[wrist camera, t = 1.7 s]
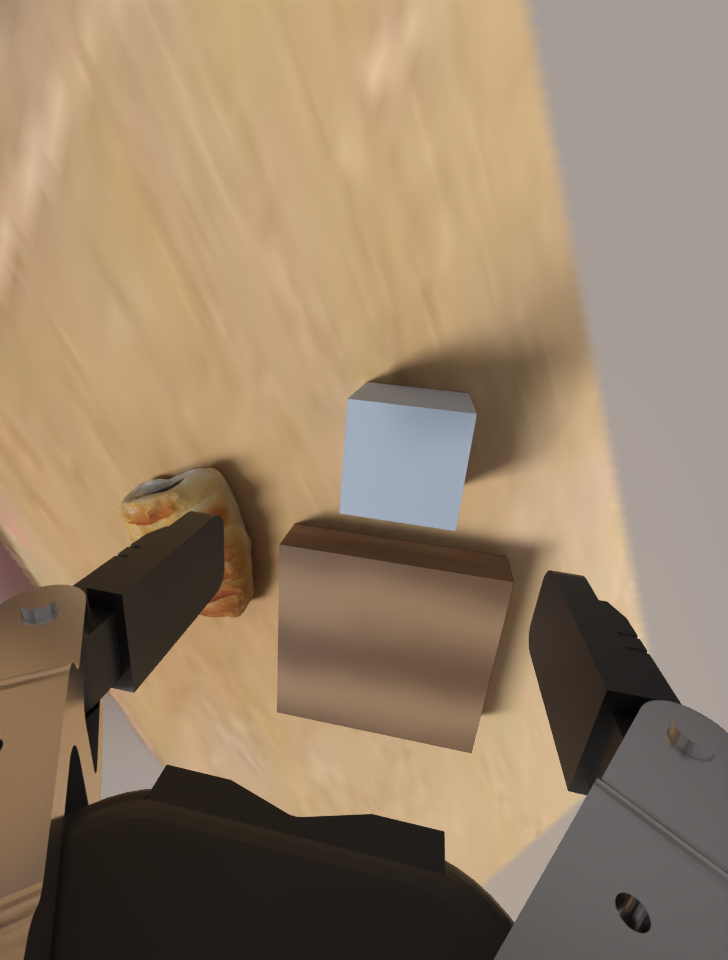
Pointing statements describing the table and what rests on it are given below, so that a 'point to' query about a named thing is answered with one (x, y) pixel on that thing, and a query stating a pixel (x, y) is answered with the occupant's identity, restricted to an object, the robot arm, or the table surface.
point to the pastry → (205, 494)
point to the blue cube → (406, 454)
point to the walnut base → (388, 633)
